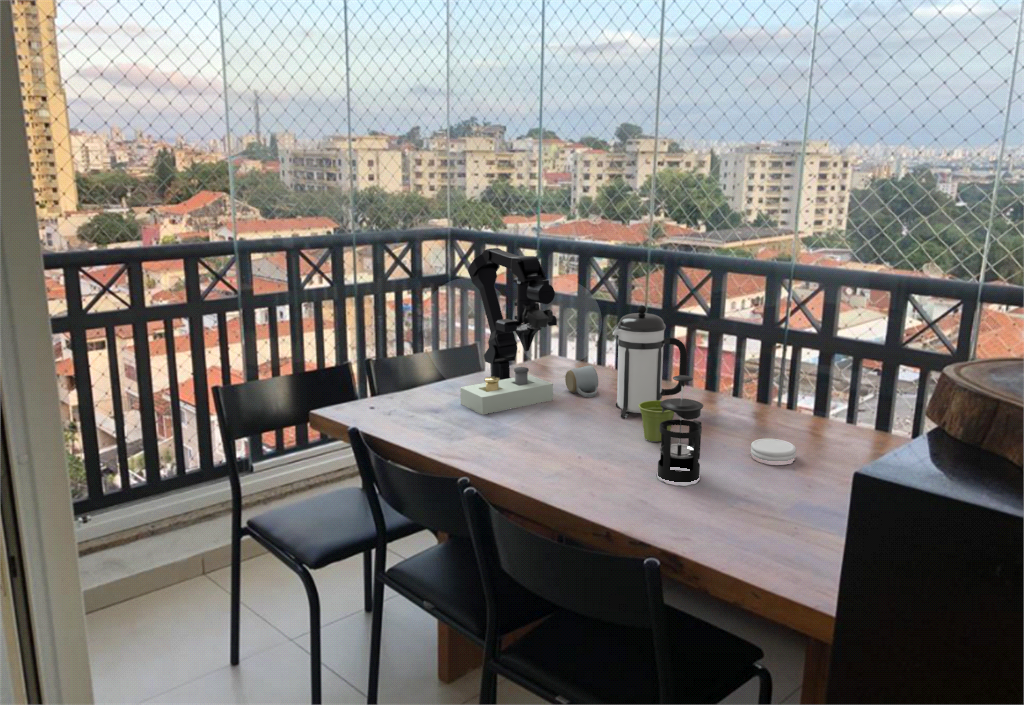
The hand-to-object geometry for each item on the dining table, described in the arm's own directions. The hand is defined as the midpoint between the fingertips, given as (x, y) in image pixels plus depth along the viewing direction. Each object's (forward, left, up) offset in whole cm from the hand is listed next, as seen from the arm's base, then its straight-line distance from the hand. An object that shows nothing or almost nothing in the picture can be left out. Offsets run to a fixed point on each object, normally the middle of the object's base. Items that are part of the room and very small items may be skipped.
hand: (526, 350), depth 236 cm
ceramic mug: (+11, +13, -13) cm, 21 cm away
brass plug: (+6, -16, -12) cm, 21 cm away
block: (+6, -11, -12) cm, 18 cm away
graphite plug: (+6, -6, -11) cm, 14 cm away
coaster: (+78, +16, -13) cm, 81 cm away
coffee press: (+35, +15, -13) cm, 40 cm away
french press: (+74, -10, -13) cm, 76 cm away
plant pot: (+53, +3, -13) cm, 55 cm away
